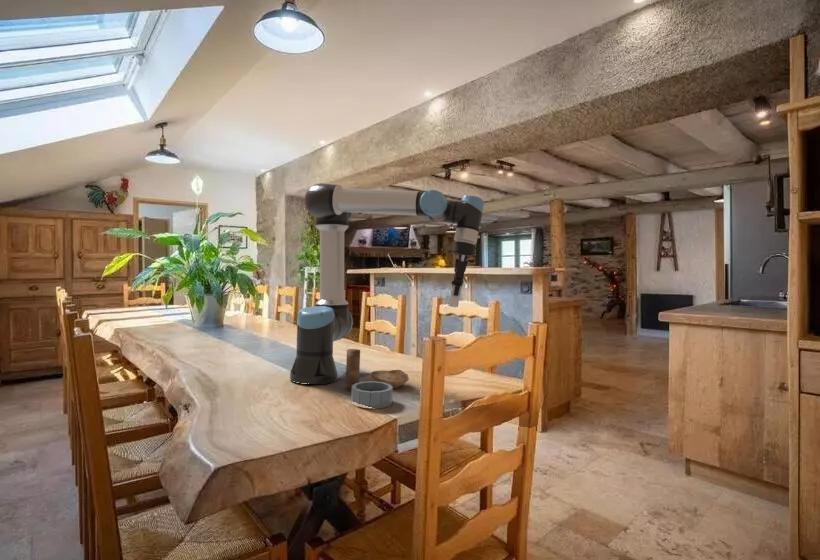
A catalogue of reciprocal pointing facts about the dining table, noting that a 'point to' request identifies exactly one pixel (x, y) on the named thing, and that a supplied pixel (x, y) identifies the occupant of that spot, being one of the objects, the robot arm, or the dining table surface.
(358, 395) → the grey plastic ring
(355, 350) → the brown cylinder
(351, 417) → the dining table surface
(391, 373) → the pottery oil lamp
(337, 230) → the robot arm
